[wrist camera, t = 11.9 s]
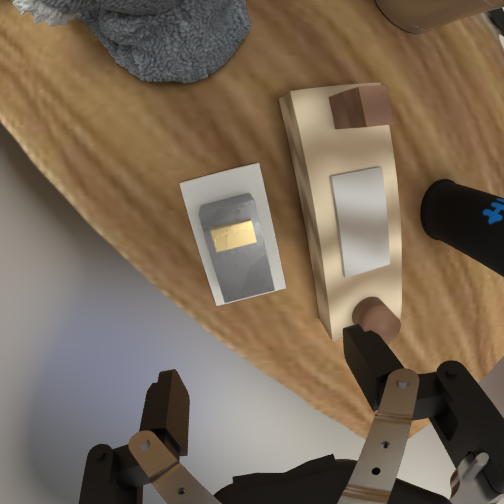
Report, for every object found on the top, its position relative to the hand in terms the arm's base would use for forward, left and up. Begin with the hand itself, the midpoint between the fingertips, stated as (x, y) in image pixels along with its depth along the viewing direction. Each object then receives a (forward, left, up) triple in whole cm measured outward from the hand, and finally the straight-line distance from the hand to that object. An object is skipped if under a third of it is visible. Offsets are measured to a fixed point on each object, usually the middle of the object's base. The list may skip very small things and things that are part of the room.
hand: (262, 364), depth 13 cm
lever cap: (0, 0, -19) cm, 19 cm away
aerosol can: (+3, +27, -20) cm, 34 cm away
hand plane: (0, +12, -20) cm, 23 cm away
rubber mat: (0, 0, -20) cm, 20 cm away
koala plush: (-25, -1, -20) cm, 32 cm away
